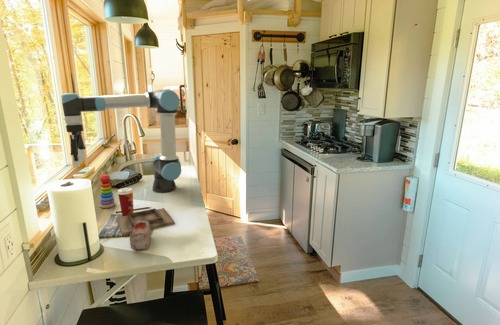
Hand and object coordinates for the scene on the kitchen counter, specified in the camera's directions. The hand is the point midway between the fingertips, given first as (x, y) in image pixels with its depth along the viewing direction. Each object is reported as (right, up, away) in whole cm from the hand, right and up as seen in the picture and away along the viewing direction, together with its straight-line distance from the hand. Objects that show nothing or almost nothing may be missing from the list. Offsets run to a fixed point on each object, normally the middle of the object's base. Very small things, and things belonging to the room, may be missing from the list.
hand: (80, 164), depth 159 cm
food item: (+43, -35, -29) cm, 63 cm away
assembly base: (+37, -29, -8) cm, 48 cm away
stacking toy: (+8, -24, +14) cm, 29 cm away
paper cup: (+25, -27, +2) cm, 37 cm away
